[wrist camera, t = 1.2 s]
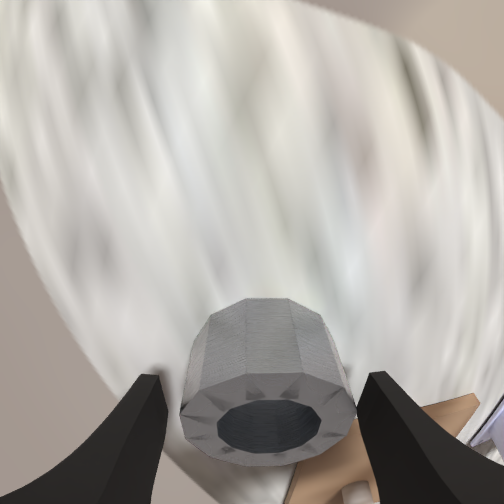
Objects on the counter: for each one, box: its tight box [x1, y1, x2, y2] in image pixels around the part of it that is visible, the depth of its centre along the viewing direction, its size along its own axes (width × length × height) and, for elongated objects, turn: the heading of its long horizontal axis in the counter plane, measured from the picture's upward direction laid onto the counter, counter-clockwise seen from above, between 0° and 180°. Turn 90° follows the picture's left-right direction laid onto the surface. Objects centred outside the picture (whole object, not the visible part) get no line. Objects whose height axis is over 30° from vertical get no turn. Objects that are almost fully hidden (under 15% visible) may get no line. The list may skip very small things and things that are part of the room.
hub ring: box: [179, 299, 357, 466], centre depth 10 cm, size 5×5×4 cm
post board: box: [284, 393, 480, 504], centre depth 15 cm, size 11×14×5 cm
